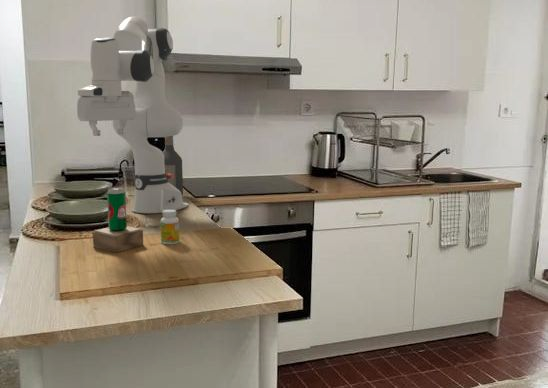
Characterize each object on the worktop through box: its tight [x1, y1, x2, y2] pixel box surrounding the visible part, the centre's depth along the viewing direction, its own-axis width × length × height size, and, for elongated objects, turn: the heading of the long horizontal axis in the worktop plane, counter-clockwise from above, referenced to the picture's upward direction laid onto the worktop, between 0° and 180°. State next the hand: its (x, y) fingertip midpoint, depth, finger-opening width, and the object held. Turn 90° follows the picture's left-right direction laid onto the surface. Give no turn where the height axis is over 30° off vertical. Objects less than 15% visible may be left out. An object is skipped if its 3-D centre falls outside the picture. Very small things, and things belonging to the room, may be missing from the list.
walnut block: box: [92, 225, 144, 254], centre depth 162 cm, size 10×10×5 cm
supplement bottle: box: [160, 209, 180, 245], centre depth 166 cm, size 5×5×10 cm
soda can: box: [106, 187, 128, 231], centre depth 160 cm, size 5×5×12 cm
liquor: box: [162, 136, 184, 196], centre depth 242 cm, size 9×9×30 cm
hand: (109, 135), depth 176 cm, fingers open, 8 cm apart
